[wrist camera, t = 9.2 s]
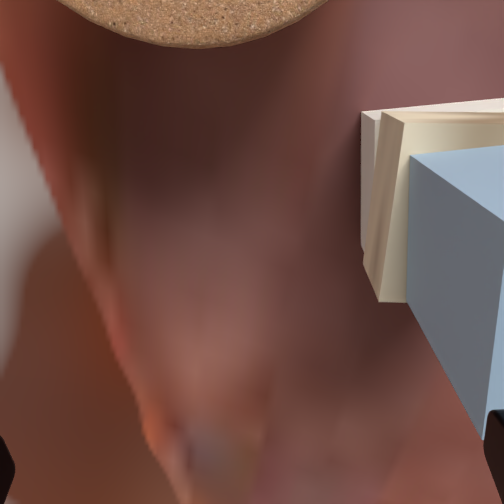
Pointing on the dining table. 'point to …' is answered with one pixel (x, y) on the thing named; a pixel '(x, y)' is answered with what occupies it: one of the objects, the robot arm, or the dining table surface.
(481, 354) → the blue block
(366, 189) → the slab bottom
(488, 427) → the robot arm
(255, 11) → the lidded jar
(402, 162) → the slab top
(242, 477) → the dining table surface
